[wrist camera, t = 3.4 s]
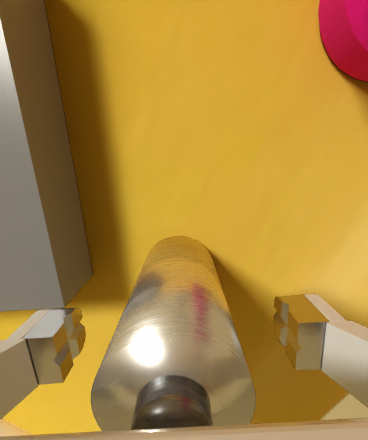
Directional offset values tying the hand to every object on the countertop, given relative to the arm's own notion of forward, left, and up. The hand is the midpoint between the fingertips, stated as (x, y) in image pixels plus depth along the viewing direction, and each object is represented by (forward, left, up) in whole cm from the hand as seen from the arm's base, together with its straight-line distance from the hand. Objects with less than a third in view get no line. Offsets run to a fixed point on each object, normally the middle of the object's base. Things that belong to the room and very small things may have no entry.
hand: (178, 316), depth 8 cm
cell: (0, 0, -4) cm, 4 cm away
